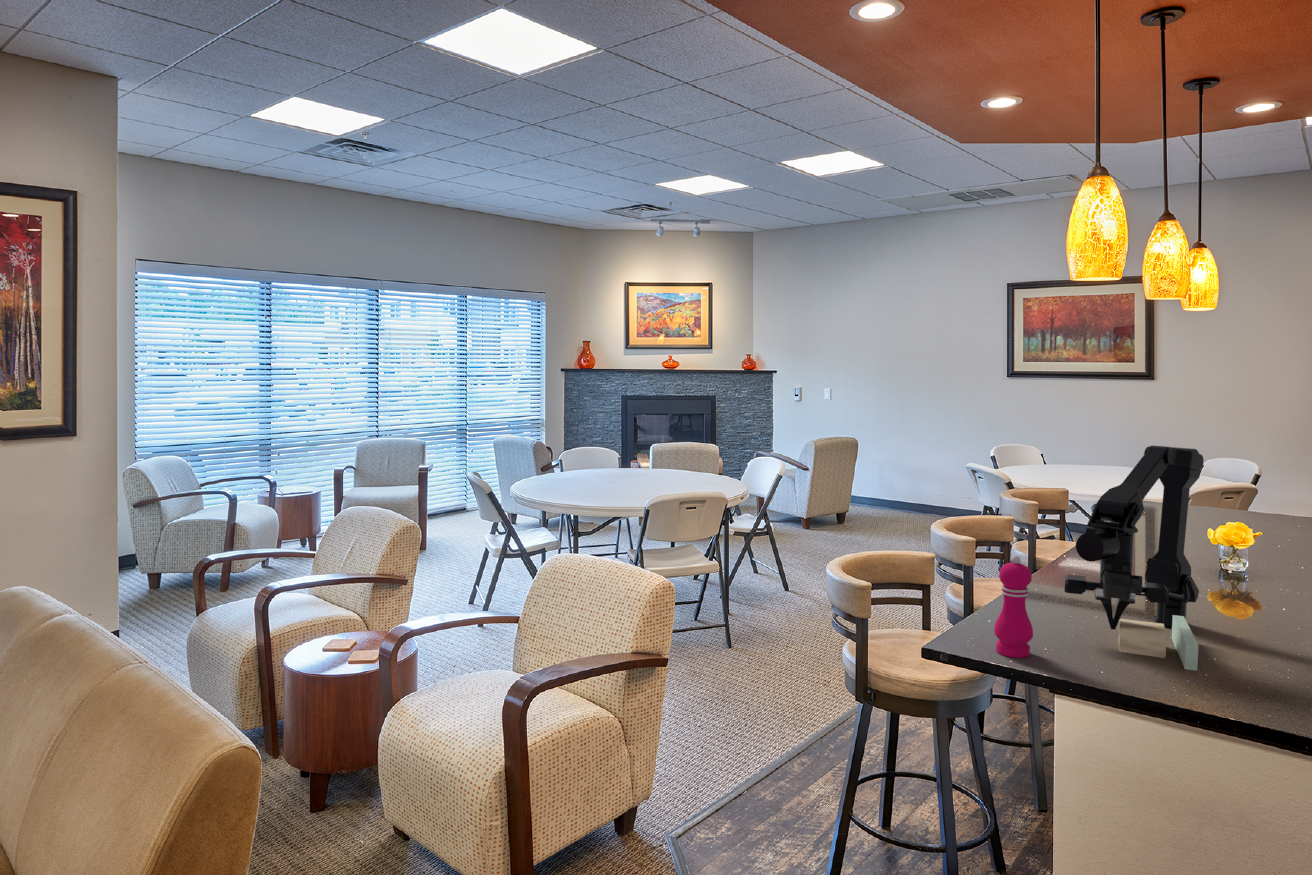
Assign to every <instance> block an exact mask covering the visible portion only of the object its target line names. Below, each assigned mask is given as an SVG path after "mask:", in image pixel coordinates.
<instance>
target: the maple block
mask: <svg viewBox="0 0 1312 875" xmlns="http://www.w3.org/2000/svg"><path fill="white" fill-rule="evenodd" d="M1117 639H1118V652H1120V653H1125V654H1131V655H1141V656H1147V657H1155V658H1161V659H1166V656H1167V631H1166V627H1165V626H1164V624H1161V623H1154V621H1153V622H1152V621H1143V620H1136V619H1135V620H1134V619H1127V618H1120V620H1119V622H1118V637H1117Z"/></svg>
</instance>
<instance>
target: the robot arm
mask: <svg viewBox="0 0 1312 875" xmlns="http://www.w3.org/2000/svg"><path fill="white" fill-rule="evenodd" d="M1143 452H1144V453H1143V456H1142V457H1141V458H1140V459H1139V461H1138V462H1137V464H1136V465H1135V466H1134V467H1133V468H1132V470H1131V471H1130V472H1129V474H1128V475H1127V476H1126V478H1125V479H1124V480H1123V481H1122V483H1120V484H1119V485H1117V486H1113V487H1111V488H1108V490H1107V491H1106V492H1104V493H1103V494H1102V495H1101V496H1100V497H1099V499H1098V500H1097V501H1096V504H1095V506H1094V508H1093V510H1092V512H1091V515H1090V518H1089V520H1088V522H1087V523H1086V525H1087V527H1086V530H1085V533H1083V534H1081V535H1080V536H1078V538H1077V540H1076V542H1075V550H1076V553H1077V554H1078V556H1079V557H1080V558H1082V560H1085V561H1087V562H1098V561H1100V563H1099V564H1100V566H1099V581H1092V580H1091V581H1090V580H1087V579H1086V576H1085V575H1076V574H1067V575H1066V576H1064V593H1067V594H1074V595H1082V594H1084V593H1085V592H1086V590H1087V591H1093V593H1094V600H1097V601H1100V602H1101V605H1102V607H1103V608H1104V611H1105V614H1106V616H1107V621H1108V624H1109V628H1110V630H1113V631H1114V630H1116V628H1117V627H1118V625H1119V620H1120V619H1121V617H1122V615H1123V613H1124V611H1125V610H1126V608H1127V607H1128V606H1129V605H1134V604H1136V600H1135V599H1136V597H1137V596H1141V597H1145V598H1146V599H1147V600H1148V601H1149V602H1150V603H1155V604H1156V612H1155V613H1156V614H1155V615H1152V620H1153V623H1161V624H1164V627H1165V628H1166V627H1168V628H1172V620H1173V615H1177V616H1184V618H1185V620H1186V621H1187V608H1188V603H1196V602H1197V600H1198V597H1199V593H1200V589H1199V588H1198V585H1197V584H1196V582H1195V581H1194V579H1193V576H1192V566H1191V564H1190V562H1189V560H1188V559H1187V557H1186V555H1185V542H1186V534H1187V532H1186V531H1187V523H1188V522H1187V520H1188V510H1189V509H1188V508H1189V502H1190V501H1189V499H1190V490H1191V489H1192V487H1193V485H1195V484H1196V482H1197V481H1198V480H1199V479H1200V476H1201V472H1202V471H1201V470H1202V469H1203V467H1204V460H1205V459H1204V456H1203V455H1202V454H1200V452H1199V451H1198V449H1196V448H1188V447H1176V446H1175V447H1174V446H1165V445H1164V446H1163V445H1150V446H1149V445H1148V446H1146V447H1145V449H1144V451H1143ZM1158 480H1160V482H1161V484H1162V486H1163V492H1162V501H1161V502H1162V503H1161V504H1162V505H1161V517H1160V523H1159V524H1160V525H1159V526H1160V527H1159V537H1158V548H1157V552H1156V553H1155V554H1154V555H1153V556H1152V557H1150V558H1147V561H1146V570H1145V574H1144V580H1145V582H1144V584H1143V576H1142V575H1134V574H1132V570H1133V553H1134V552H1133V549H1134V534H1136V533H1138V532H1139V529H1138V528H1137V526H1136V525H1137V523H1138V521H1139V520H1140V519H1141V517H1142V515H1143V512H1144V510H1145V507H1144V502H1143V501H1144V499H1145V498H1146V496H1147V495H1148V493H1149V492H1150V491H1151V489H1152V488H1153V486H1155V484H1156V483H1157V482H1158ZM1112 599H1116V601H1115V605H1114V606H1115V607H1114V612H1113V605H1112ZM1189 627H1190V625H1189Z"/></svg>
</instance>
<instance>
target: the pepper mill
mask: <svg viewBox="0 0 1312 875" xmlns="http://www.w3.org/2000/svg"><path fill="white" fill-rule="evenodd" d="M1010 561H1011V562H1007V563H1005V564H1003V565H1002V566H1001V567H1000V569H999V572H998V573H999V574H998V577H999V580H1000V582H1001V583H1002V584H1003V585H1002V586H1001V591H1000V593H1001V594H1002V595H1003V603H1002V608H1001V611H1000V613H999V615H998V617H997V618H996V621H995V624H994V627H993V631H994V635H995V637H996V638H997V639H998V641H996V644H995V650H996V653H997V654H998V655H1002V656H1005V657H1009V658H1014V659H1015V658H1016V659H1017V658H1018V659H1021V658H1027V657H1029V656H1030V654H1031V653H1030V651H1031V646H1030V645H1029V642H1030V641H1032V639H1033V636H1034V628H1033V625H1032V622H1031V620H1030V618H1029V615H1028V613H1027V607H1026V600H1027V597H1028V596H1029V588H1028V586H1029V585H1030V583H1032V580H1033V579H1032V572H1031V570H1030V568H1029V567H1028V566H1026V565H1025V564H1023V563H1021V557H1020V556H1019V555H1012V556H1011V558H1010Z"/></svg>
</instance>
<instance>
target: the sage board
mask: <svg viewBox="0 0 1312 875" xmlns="http://www.w3.org/2000/svg"><path fill="white" fill-rule="evenodd" d="M1189 626H1190V625H1189V622H1188V620H1187V619H1186V620H1185V618H1184V616H1177V615H1173V620H1172V627H1171V640H1172V642H1173V645H1174V646H1175V649H1176V652H1177V654H1178V657H1179V659H1180V661H1181V664H1182V666H1183V668H1184V670H1189V671H1196V672H1197V671H1198V663H1199V662H1198V660H1199V643H1198V642H1197V639H1196V638H1195V635H1194V633H1193V632H1192V630H1191V628H1190V627H1189Z"/></svg>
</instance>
